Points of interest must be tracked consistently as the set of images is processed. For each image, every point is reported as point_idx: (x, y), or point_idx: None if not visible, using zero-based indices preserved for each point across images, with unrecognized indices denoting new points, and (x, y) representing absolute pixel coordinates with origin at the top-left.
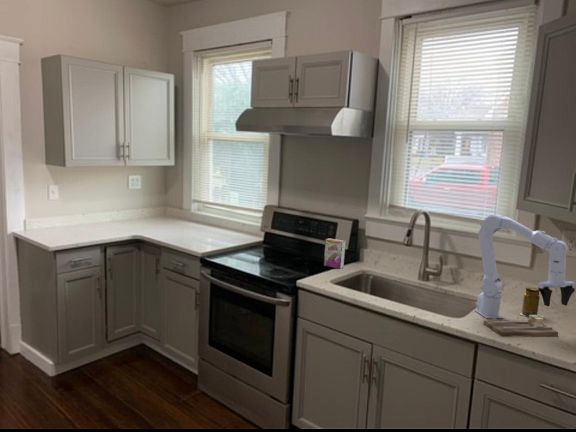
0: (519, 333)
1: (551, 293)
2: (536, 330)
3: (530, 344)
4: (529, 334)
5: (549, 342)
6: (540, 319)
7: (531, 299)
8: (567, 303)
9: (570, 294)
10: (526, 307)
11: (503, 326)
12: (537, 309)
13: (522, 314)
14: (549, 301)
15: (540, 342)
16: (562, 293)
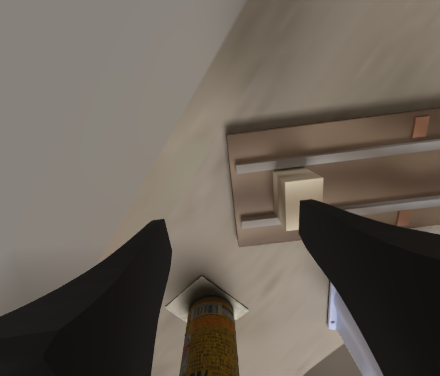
0: (406, 112)
1: (409, 249)
2: (315, 143)
3: (418, 18)
4: (355, 118)
5: (311, 55)
6: (300, 179)
7: (224, 366)
8: (145, 226)
9: (85, 280)
10: (232, 331)
11: (430, 170)
12: (193, 323)
13: (235, 311)
14: (328, 212)
15: (353, 49)
16: (149, 333)
